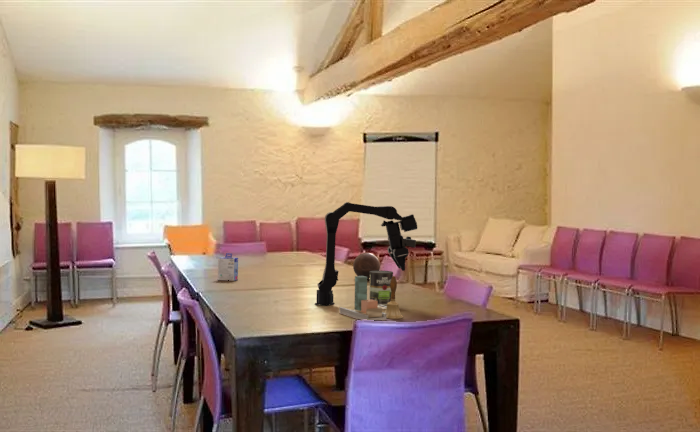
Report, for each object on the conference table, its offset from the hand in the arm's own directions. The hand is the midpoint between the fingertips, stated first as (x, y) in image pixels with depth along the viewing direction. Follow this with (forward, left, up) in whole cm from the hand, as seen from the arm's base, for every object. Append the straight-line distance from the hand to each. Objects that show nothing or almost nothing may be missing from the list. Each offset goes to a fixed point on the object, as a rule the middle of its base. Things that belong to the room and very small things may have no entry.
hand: (401, 269), depth 295 cm
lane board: (+3, -31, -15) cm, 35 cm away
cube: (+5, -38, -13) cm, 40 cm away
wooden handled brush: (+10, -29, -15) cm, 35 cm away
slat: (+3, -37, -14) cm, 40 cm away
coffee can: (-8, -4, -15) cm, 18 cm away
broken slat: (+1, -25, -15) cm, 29 cm away
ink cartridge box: (-113, +19, -15) cm, 116 cm away
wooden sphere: (-53, +66, -15) cm, 86 cm away
